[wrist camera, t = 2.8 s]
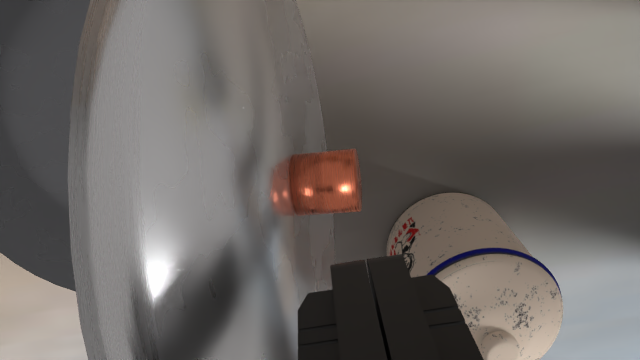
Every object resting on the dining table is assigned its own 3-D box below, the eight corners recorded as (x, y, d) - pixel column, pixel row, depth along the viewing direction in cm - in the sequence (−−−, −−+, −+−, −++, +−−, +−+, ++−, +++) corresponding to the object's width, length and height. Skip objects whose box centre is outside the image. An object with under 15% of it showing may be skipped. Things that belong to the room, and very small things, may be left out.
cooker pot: (252, -140, 28) (229, -191, 19) (318, 245, 37) (325, 337, 28) (-37, -92, 28) (-198, -119, 19) (99, 277, 38) (34, 379, 28)
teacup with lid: (377, 195, 36) (411, 294, 25) (508, 179, 36) (598, 270, 25) (389, 334, 41) (422, 467, 30) (505, 320, 41) (580, 449, 30)
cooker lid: (261, -81, 20) (343, -95, 19) (323, 280, 26) (387, 277, 26) (-142, -169, 5) (166, -244, 4) (227, 717, 11) (373, 733, 11)
